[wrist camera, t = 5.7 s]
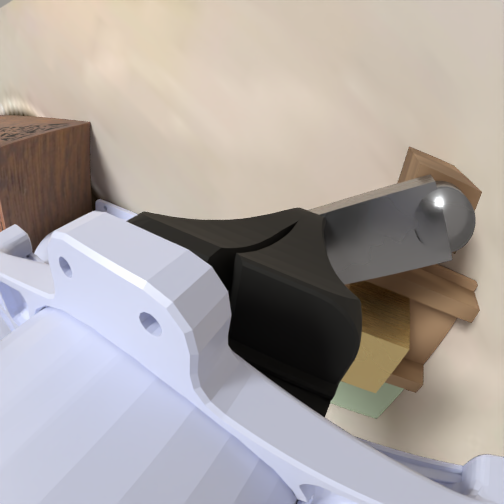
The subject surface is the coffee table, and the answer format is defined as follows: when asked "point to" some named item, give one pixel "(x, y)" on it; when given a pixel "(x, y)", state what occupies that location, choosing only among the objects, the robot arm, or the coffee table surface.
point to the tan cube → (379, 335)
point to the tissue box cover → (43, 173)
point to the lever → (396, 228)
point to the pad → (365, 398)
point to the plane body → (430, 283)
